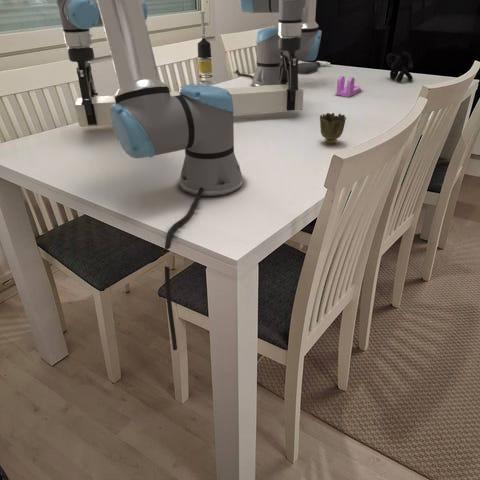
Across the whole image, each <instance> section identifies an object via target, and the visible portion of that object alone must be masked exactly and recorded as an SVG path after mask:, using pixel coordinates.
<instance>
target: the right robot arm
mask: <svg viewBox="0 0 480 480" xmlns="http://www.w3.org/2000/svg"><path fill="white" fill-rule="evenodd" d="M238 2H239V8H240V10H241V12H242V13H251V14H261V13H262V14H264V13H269V14H271V13H272V14H274V13H275V14H276V13H277V14H278V23H277V26H270V27H264V28H261V29H259V30H258V31H257V33H256V41H255V43H256V66H255V71H254V75H252V74H248V73H247V74H246V73H240V71H239V69H236V70H235V72H234V73H235V74H237V75H238V76H241V77H248V78H251V79H252V82H251V83H252V87H253V86H268V85H283V84H288V89H287V90H286V91H287V111H286V112H290V111H289V110H295V96H296V90H298V86H299V73H298V64H299V62H300V61H301V62H314V61H315V60H316V59H317V58H318V54H319V51H320V50H319V49H320V44H321V40H322V39H321V38H322V34H323V33H322V32H323V31H322V30H320V29H319V24H318V23H317V22H316V14H317V13H316V10H317V0H238ZM293 86H294V87H293Z"/></svg>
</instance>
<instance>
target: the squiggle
mask: <svg viewBox="0 0 480 480" xmlns="http://www.w3.org/2000/svg"><path fill="white" fill-rule="evenodd" d="M401 57H402V59H401ZM391 59H392V60H391ZM393 60H394V61H393ZM385 61H386V64H387V67H390V68H391V70H390V72H389V78H390V79H391V80H395V79H396V81H397V82H399V83H400V82H402V81H403V79H404V76H406V78H407V80H408V81H412V80H413V79H414V77H413V75H412V74H411V73H410V72H409V71H410V70H412V69H413V68H414V64H413V61H412V57H411V54H410V53H409V52H408V51H403V53H402V54H401V55H396V54H394V53H392V52H390V53H387V55H386V57H385ZM406 62H407V65H408V66H407V67H405V66H404V65H405V64H406ZM400 70H401V71H400Z"/></svg>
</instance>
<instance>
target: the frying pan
mask: <svg viewBox="0 0 480 480" xmlns="http://www.w3.org/2000/svg"><path fill="white" fill-rule="evenodd" d="M327 65H328V66H330V65H331V62H328V61H325V60H323V61H322V60H316V61H304V62H300V63H299V62H298V74H303V75H305V74H311V73H314V72H316V71H317V70H318V69H319V67H320V66H327Z"/></svg>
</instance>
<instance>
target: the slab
mask: <svg viewBox="0 0 480 480" xmlns="http://www.w3.org/2000/svg"><path fill="white" fill-rule="evenodd" d="M293 87H294V86H293ZM222 88H223V87H222ZM223 89H225V90H227V91H229V92H230V94H231V95H232V101H233V109H234V112H233V116H243V115H254V114H255V115H257V114H258V115H259V114H268V113H269V114H270V113H271V114H272V113H283V112H296V111H303V108H304V107H303V104H304V88H303V87H301V86H300V85H298V90H296V96H295V110H289V111H287V91H286V90H287V89H288V83H287V84H283V85H268V86H253V85H252V86H240V87H239V86H238V87H224V88H223ZM179 91H180V90H178V91H177V90H176V91H170V95H171V96H177V95H180V94H179ZM114 96H115V95H103V96H96V97H92V102H93V105H94V110H95V115H96V121H97V125H88V122H87V117H86V112H85V107H84V105H81V103H82V97H77V99H76V102H75V104H74V107H75V112H76V117H77V122H78V125H79V126H78V127H79V128H81V127H82V128H84V127H95V126H97V127H98V126H113V125H112V119H111V116H110V108H111V107H112V106H113V105H114V104H116V102H115V98H114ZM85 100H88V99H85Z"/></svg>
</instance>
